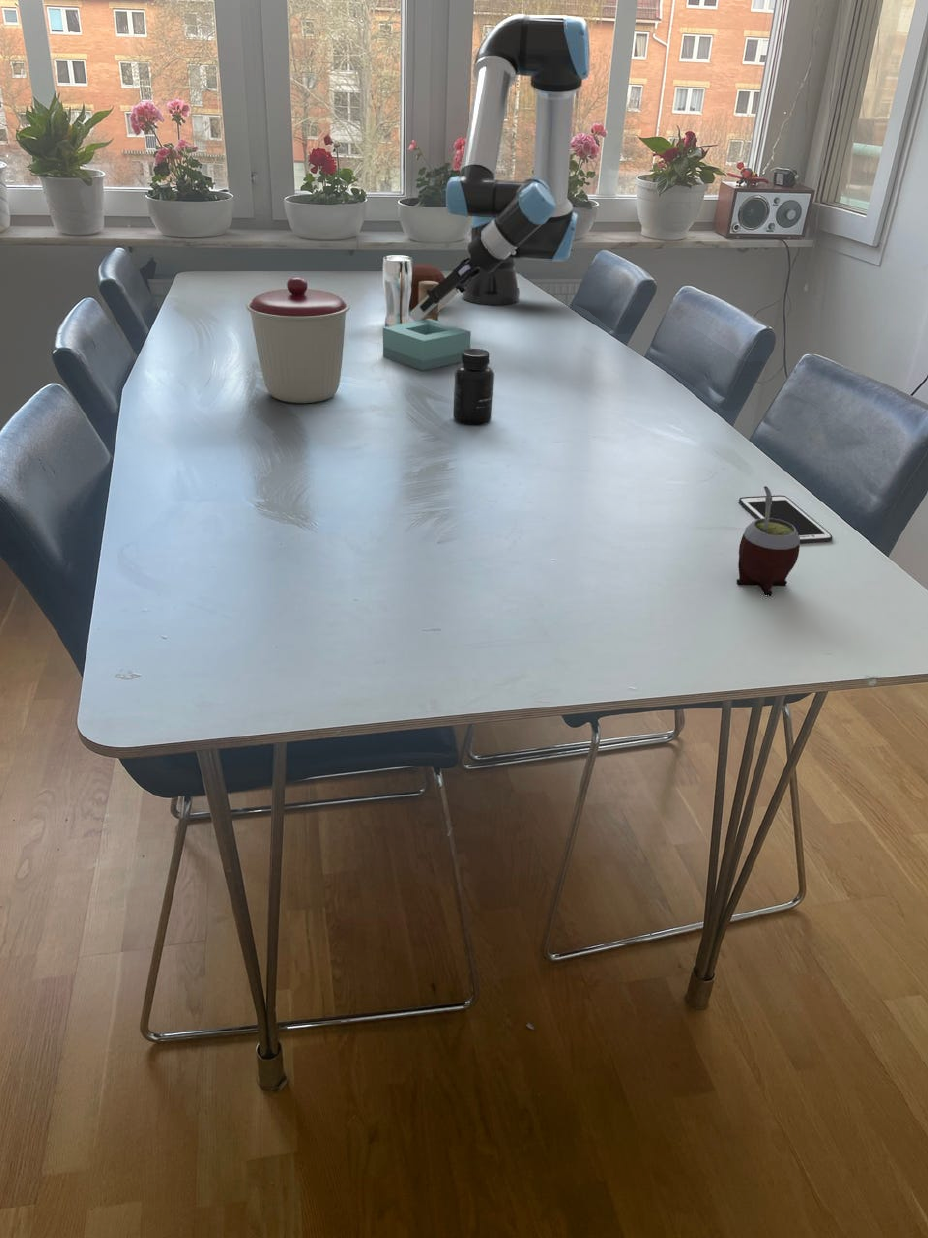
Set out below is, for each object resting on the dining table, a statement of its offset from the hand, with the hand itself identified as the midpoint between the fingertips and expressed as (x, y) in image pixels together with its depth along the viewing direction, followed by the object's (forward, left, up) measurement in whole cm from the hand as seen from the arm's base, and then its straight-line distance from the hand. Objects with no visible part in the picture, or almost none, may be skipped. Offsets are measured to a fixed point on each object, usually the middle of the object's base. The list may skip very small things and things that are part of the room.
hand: (424, 312), depth 211 cm
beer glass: (-3, -13, -6) cm, 14 cm away
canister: (+45, +17, -6) cm, 49 cm away
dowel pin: (-1, 0, -6) cm, 6 cm away
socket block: (+10, +12, -6) cm, 17 cm away
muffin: (-20, -23, -6) cm, 31 cm away
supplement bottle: (+29, +46, -6) cm, 55 cm away
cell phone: (+23, +105, -6) cm, 107 cm away
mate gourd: (+43, +113, -6) cm, 121 cm away
